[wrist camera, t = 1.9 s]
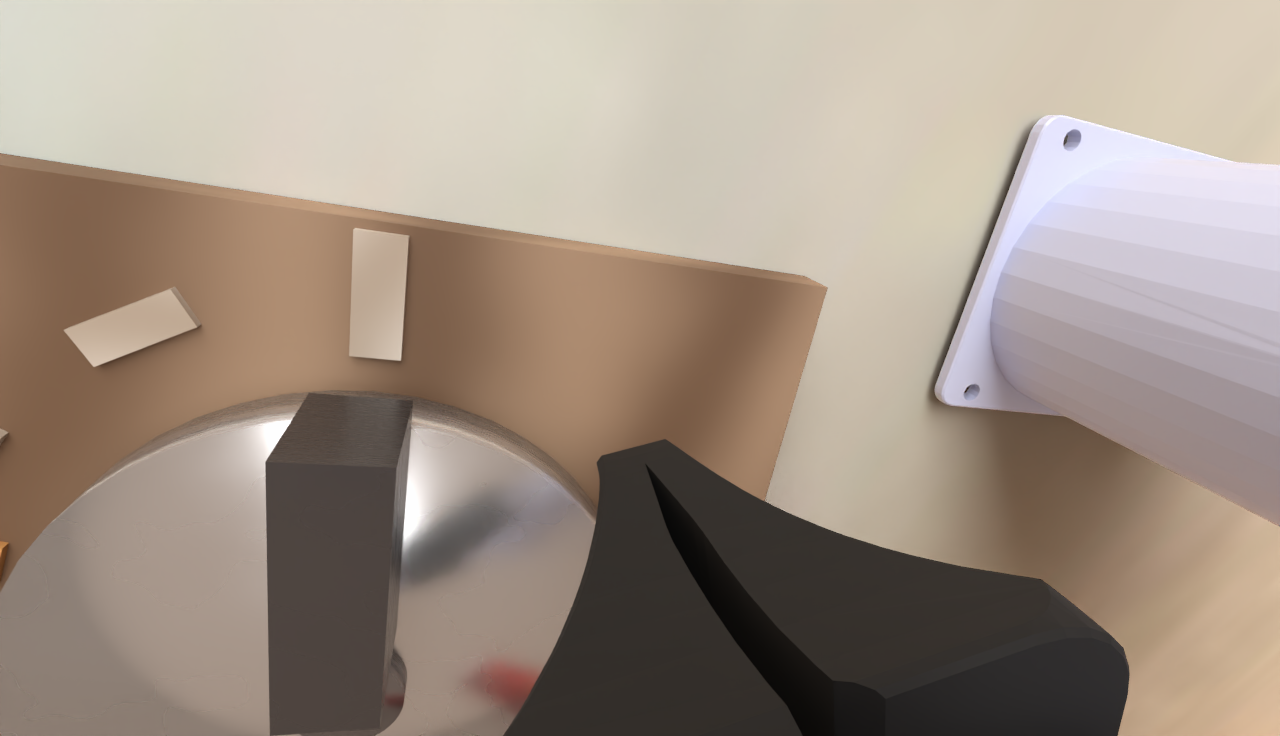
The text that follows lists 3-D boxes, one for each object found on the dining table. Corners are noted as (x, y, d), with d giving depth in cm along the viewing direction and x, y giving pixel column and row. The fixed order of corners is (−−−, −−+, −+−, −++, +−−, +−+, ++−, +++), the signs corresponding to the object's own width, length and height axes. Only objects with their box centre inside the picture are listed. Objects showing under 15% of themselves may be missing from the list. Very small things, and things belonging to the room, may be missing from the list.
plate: (804, 276, 16) (831, 289, 15) (654, 808, 23) (664, 849, 21) (-246, 115, 10) (-348, 115, 9) (-37, 887, 17) (-79, 950, 16)
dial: (669, 394, 15) (728, 481, 11) (581, 792, 19) (603, 944, 16) (-20, 335, 11) (-259, 438, 7) (70, 844, 15) (-52, 1059, 12)
